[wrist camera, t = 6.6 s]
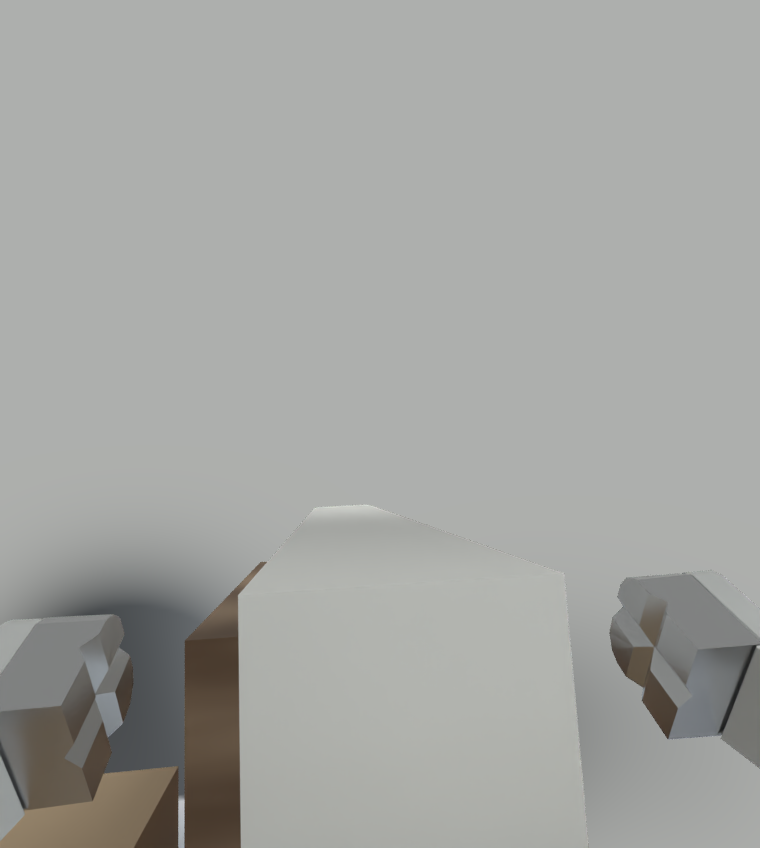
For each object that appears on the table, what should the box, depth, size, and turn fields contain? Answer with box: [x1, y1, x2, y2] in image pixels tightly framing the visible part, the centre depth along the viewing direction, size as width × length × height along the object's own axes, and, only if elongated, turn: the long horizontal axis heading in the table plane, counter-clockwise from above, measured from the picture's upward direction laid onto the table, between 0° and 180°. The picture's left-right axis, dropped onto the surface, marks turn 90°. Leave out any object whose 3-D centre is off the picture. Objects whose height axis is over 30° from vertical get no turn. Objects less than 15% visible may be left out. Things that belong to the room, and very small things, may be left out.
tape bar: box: [238, 505, 589, 848], centre depth 19 cm, size 28×4×3 cm, turn 6°
